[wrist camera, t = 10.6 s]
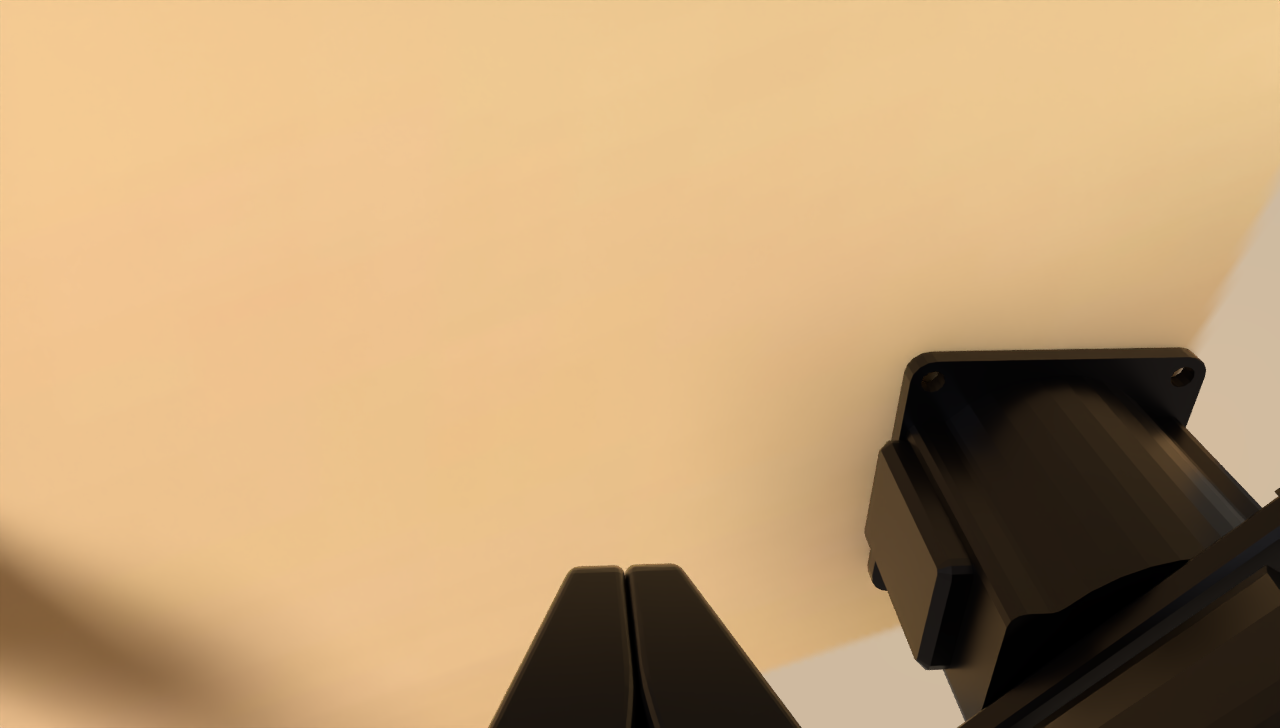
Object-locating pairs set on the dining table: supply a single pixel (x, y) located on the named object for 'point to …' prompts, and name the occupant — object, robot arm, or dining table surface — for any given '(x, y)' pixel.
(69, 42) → the dining table surface
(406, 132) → the dining table surface
